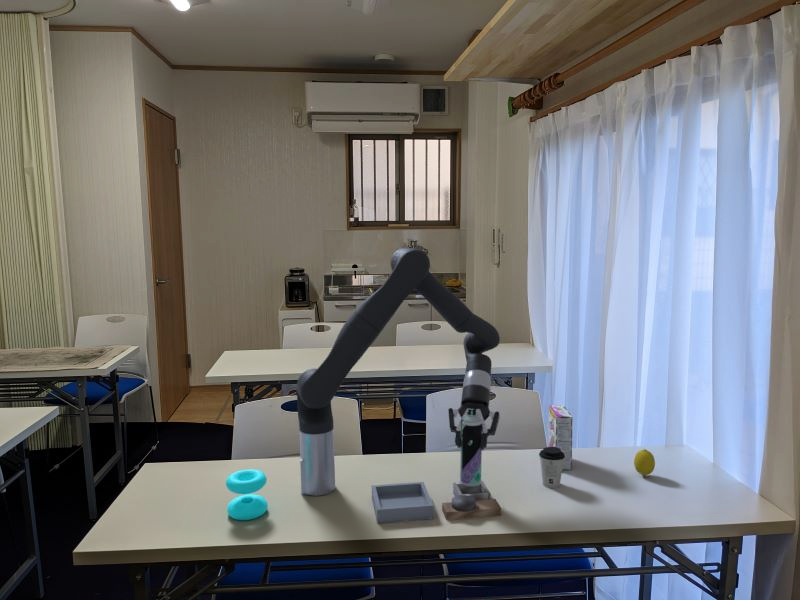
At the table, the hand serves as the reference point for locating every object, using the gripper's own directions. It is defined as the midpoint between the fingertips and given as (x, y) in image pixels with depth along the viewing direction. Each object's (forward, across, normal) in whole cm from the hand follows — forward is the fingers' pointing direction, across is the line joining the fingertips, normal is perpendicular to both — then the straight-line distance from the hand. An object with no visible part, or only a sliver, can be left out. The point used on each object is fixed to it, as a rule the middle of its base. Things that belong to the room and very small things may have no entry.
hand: (470, 447), depth 163 cm
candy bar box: (-11, +23, +32) cm, 42 cm away
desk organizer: (+12, 0, +9) cm, 15 cm away
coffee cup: (0, +21, +21) cm, 30 cm away
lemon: (-8, +46, +29) cm, 55 cm away
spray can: (+6, 0, +9) cm, 11 cm away
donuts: (+24, -54, -1) cm, 59 cm away
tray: (+16, -17, +6) cm, 24 cm away
